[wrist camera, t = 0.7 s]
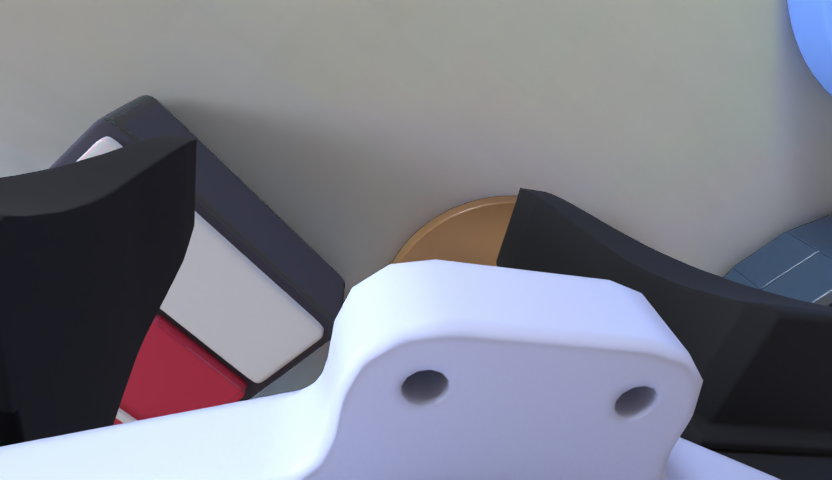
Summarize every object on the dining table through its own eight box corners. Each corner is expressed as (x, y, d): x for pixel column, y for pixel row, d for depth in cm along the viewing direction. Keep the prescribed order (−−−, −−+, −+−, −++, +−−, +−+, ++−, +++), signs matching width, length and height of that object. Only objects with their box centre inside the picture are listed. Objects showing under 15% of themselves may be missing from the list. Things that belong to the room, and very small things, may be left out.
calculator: (-168, 381, 20) (93, 117, 17) (-81, 314, 24) (147, 88, 21) (88, 528, 25) (343, 343, 21) (129, 451, 28) (350, 283, 25)
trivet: (603, 388, 29) (609, 399, 28) (388, 411, 28) (389, 423, 27) (624, 184, 24) (632, 190, 23) (368, 206, 23) (368, 213, 23)
